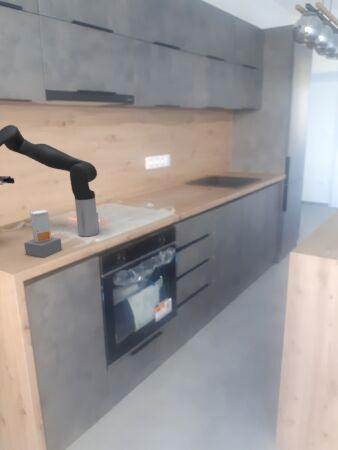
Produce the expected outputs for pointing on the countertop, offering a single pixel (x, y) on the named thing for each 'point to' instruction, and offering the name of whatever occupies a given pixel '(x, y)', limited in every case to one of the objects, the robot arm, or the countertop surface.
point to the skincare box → (40, 226)
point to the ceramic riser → (43, 247)
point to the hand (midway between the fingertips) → (5, 182)
